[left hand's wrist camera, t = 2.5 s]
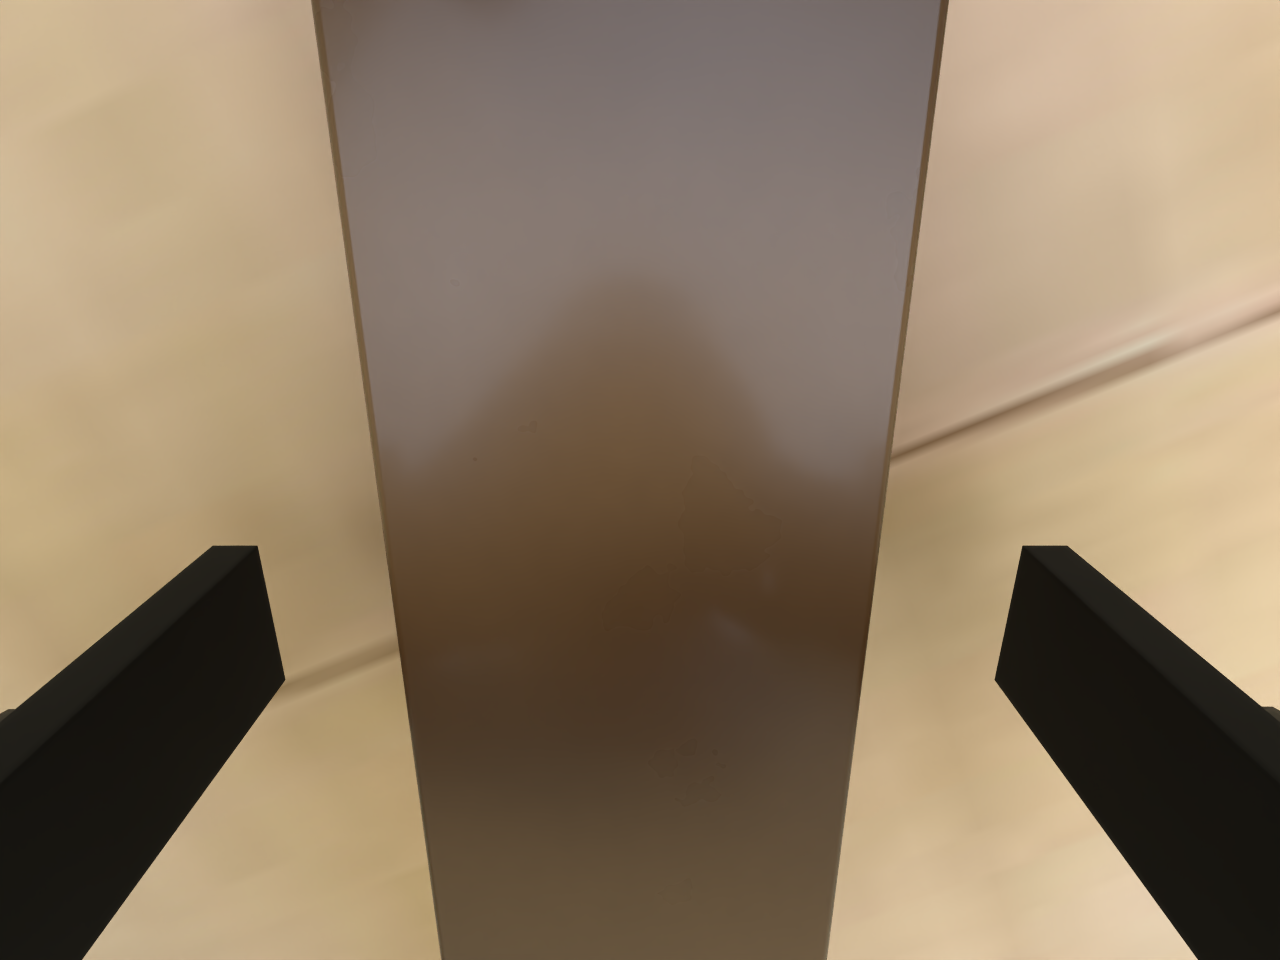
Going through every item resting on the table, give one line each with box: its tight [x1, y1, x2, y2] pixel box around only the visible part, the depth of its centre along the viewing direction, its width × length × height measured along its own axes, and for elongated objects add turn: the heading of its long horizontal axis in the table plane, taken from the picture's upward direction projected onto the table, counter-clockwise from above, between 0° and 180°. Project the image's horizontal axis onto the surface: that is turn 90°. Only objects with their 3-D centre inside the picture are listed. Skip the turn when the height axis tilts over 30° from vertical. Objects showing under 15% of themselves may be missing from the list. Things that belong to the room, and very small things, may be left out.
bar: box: [311, 0, 949, 960], centre depth 9 cm, size 24×5×8 cm, turn 0°
